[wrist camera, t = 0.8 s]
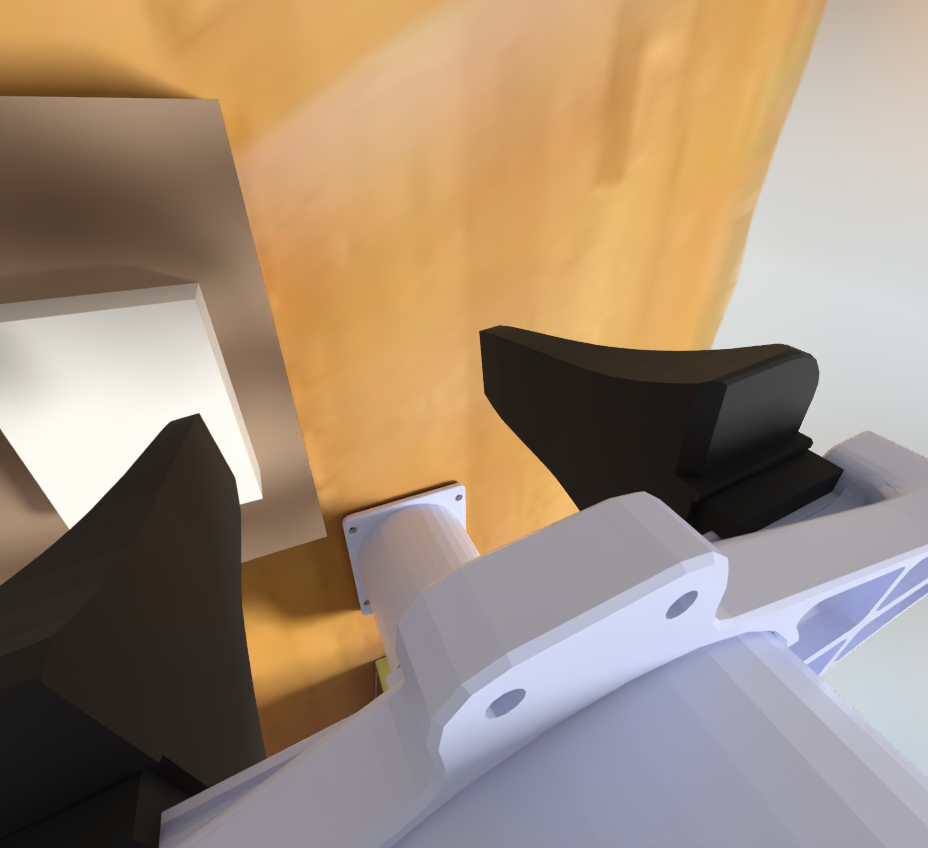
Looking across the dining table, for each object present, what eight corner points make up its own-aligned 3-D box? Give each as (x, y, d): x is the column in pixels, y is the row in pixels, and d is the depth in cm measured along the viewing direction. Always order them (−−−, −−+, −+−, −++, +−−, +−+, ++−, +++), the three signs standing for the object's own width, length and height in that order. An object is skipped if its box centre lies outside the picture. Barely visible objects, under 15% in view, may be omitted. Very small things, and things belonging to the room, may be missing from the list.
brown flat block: (316, 494, 25) (327, 536, 23) (59, 564, 21) (35, 626, 19) (219, 106, 16) (218, 99, 13) (-289, 100, 12) (-446, 89, 9)
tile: (260, 469, 19) (262, 498, 18) (94, 510, 17) (81, 547, 16) (198, 282, 15) (195, 299, 13) (-33, 307, 13) (-67, 330, 11)
